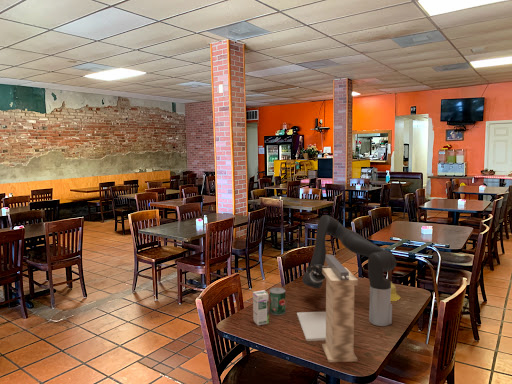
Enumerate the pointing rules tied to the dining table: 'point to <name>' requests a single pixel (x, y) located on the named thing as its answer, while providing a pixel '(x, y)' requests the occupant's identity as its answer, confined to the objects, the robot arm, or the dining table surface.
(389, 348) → the dining table surface
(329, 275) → the birch stand
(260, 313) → the syrup box
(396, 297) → the handbell
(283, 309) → the canned tomato
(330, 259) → the dark grey block
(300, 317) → the off-white board
